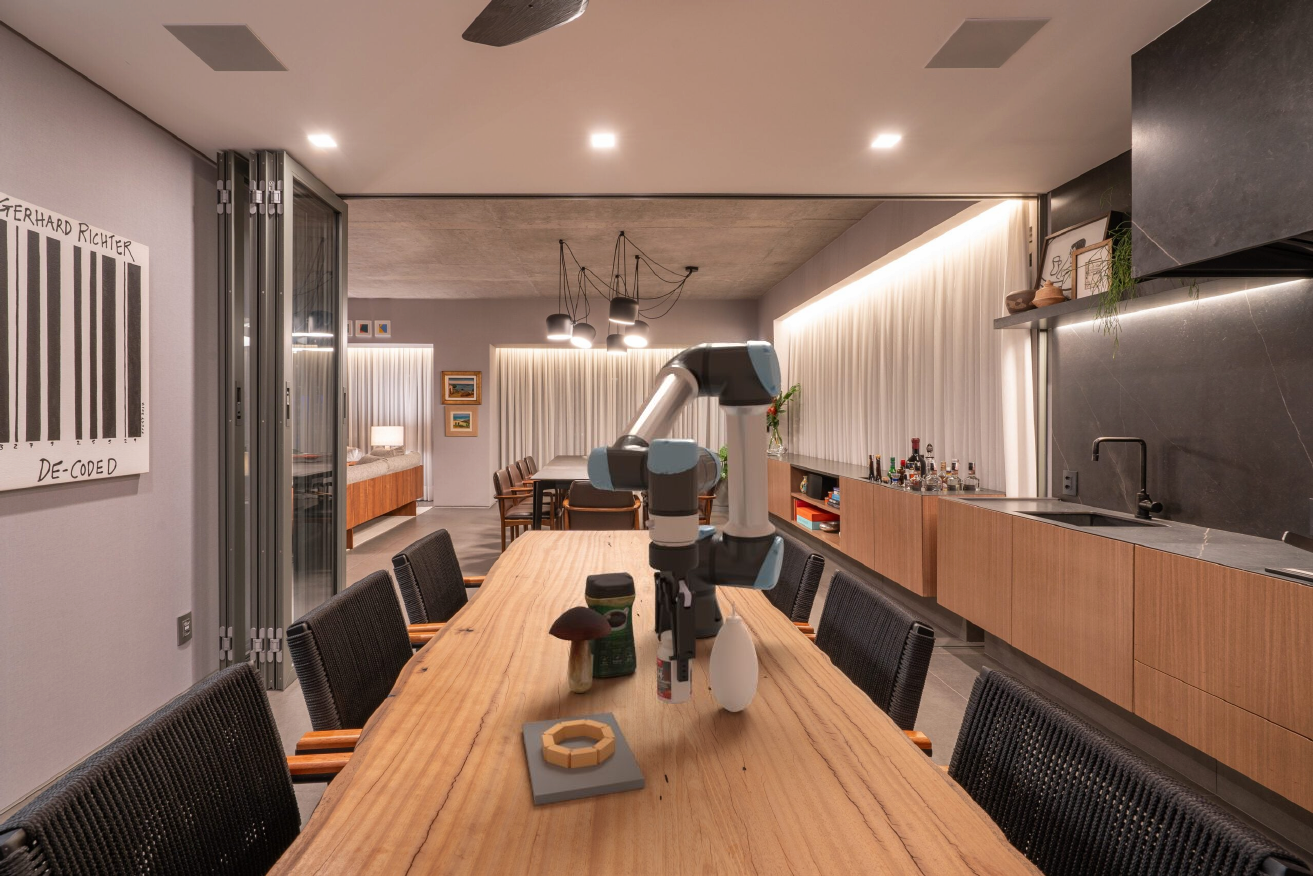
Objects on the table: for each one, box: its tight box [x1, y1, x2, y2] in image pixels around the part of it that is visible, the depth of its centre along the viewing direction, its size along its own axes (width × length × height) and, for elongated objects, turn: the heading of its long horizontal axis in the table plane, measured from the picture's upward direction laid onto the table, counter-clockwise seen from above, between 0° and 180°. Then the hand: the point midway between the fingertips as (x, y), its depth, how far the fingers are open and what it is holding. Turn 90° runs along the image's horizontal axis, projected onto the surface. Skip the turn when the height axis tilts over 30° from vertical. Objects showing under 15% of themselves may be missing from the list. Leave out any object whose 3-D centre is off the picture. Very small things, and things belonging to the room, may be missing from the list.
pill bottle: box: [656, 630, 693, 705], centre depth 99 cm, size 5×5×10 cm
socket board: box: [521, 711, 646, 806], centre depth 91 cm, size 14×20×3 cm
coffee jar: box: [584, 571, 638, 678], centre depth 123 cm, size 10×8×19 cm
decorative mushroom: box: [548, 605, 612, 694], centre depth 113 cm, size 11×11×15 cm
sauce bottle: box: [708, 601, 759, 713], centre depth 106 cm, size 8×8×18 cm
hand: (674, 691), depth 99 cm, fingers closed on pill bottle, 5 cm apart
